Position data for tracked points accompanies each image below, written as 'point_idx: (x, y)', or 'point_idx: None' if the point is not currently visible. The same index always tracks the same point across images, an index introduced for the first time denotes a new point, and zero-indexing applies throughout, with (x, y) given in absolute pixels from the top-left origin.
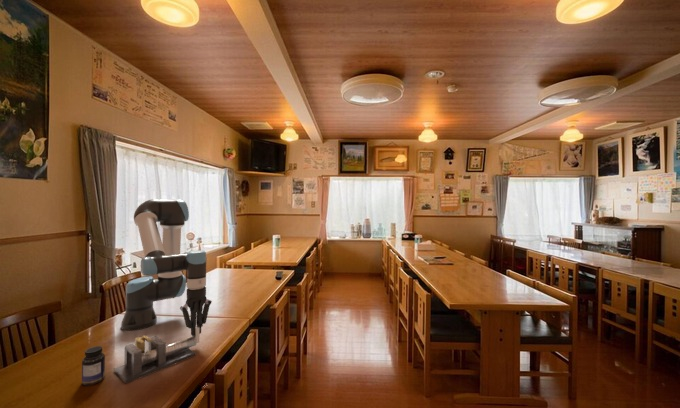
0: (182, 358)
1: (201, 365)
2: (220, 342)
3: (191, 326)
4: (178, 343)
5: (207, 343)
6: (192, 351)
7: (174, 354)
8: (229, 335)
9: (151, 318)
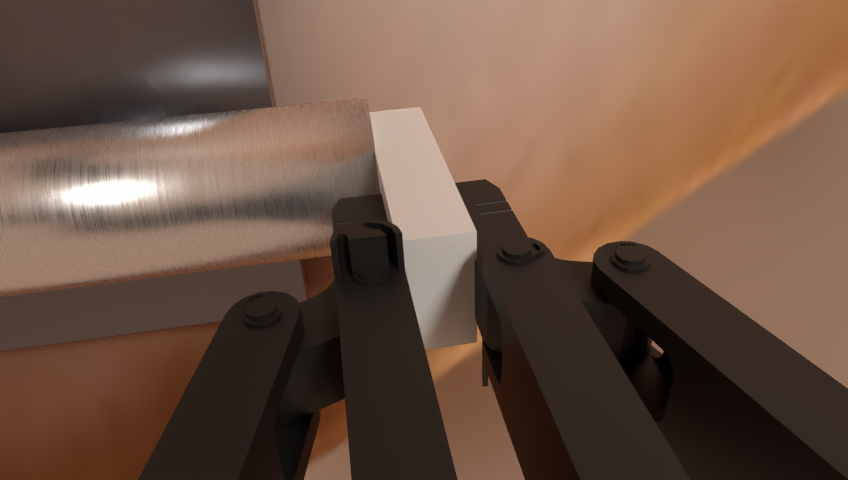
0: (157, 323)
1: None
2: (648, 183)
3: (312, 418)
4: (93, 277)
5: (547, 96)
6: (292, 264)
7: None
8: (839, 78)
9: None
